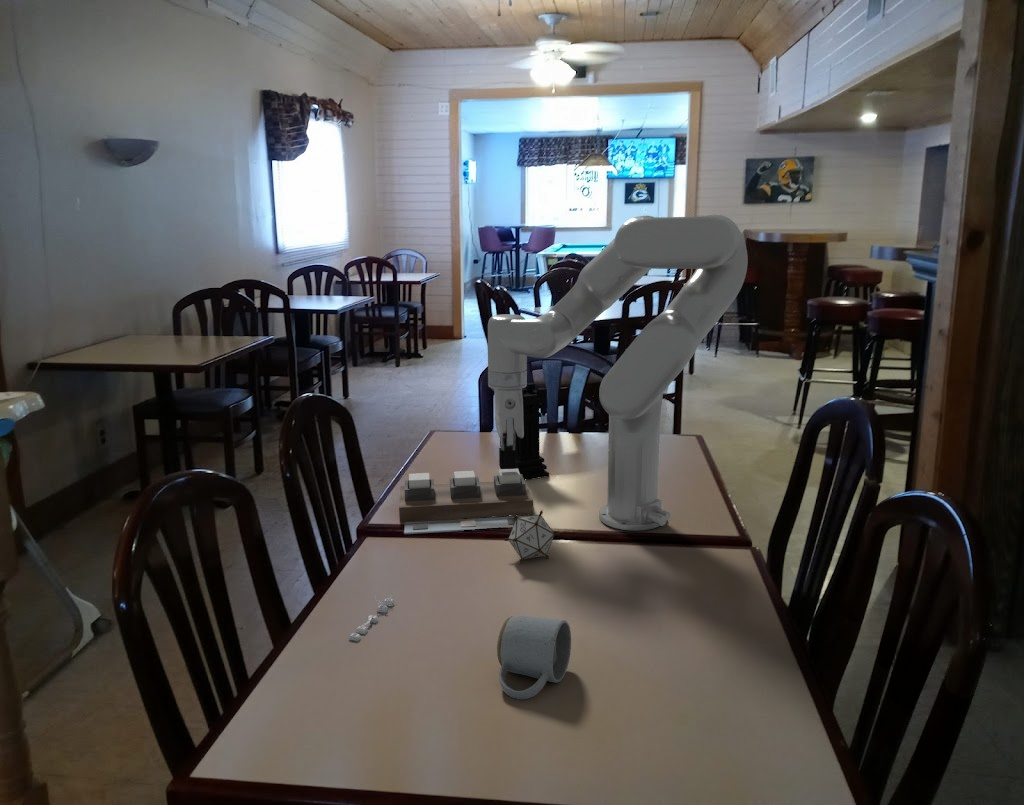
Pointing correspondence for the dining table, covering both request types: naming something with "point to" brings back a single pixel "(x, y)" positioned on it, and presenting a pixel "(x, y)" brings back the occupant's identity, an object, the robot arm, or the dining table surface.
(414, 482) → the button
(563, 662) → the ceramic mug
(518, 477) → the button
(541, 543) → the game die
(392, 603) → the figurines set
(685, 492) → the dining table surface
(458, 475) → the button middle
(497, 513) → the board
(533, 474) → the chess piece
